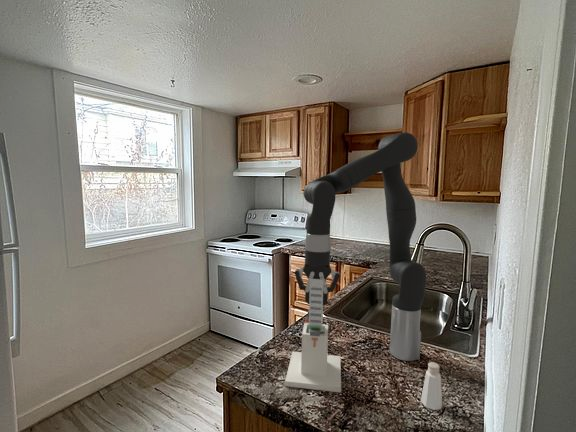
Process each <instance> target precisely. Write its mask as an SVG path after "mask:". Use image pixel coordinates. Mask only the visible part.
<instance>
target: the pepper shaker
mask: <svg viewBox="0 0 576 432" xmlns="http://www.w3.org/2000/svg"><path fill="white" fill-rule="evenodd" d="M427 366H428V368H427V370H426V371H425V376H424V381H423V386H422V387H423V388H422V391H421V392H422V394H421V398H420V403H421V404H422V405H423V406H424V407H425V408H427V409H430V410H433V411H437V410H442V406H443V397H442V396H443V395H442V378H441V377H442V375H441V374H440V367H441V366H440V364H438V363H436V362H434V361H433V362H432V361H431V362H430V361H429V362H428V363H427Z"/></svg>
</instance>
